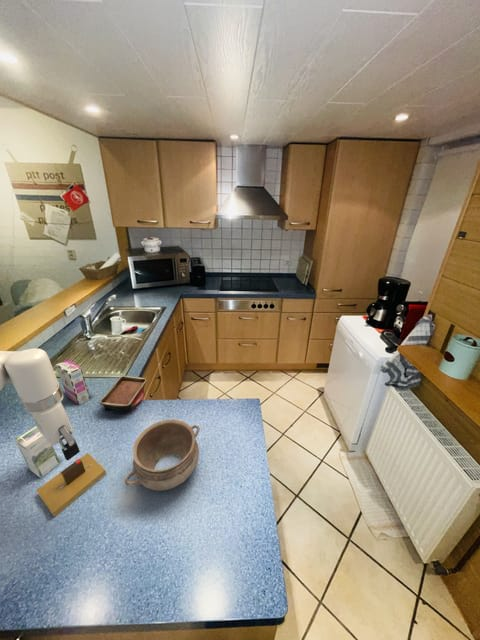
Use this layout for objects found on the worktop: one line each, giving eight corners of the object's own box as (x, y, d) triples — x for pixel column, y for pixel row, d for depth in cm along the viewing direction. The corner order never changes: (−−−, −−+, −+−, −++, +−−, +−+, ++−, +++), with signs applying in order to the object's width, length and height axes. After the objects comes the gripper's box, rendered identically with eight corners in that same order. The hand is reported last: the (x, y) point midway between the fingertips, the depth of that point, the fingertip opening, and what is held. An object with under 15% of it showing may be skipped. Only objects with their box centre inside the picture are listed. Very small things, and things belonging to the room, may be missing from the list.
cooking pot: (149, 529, 64) (142, 500, 59) (115, 480, 75) (106, 452, 70) (219, 460, 81) (218, 433, 76) (182, 429, 92) (179, 403, 87)
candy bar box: (91, 399, 105) (82, 367, 98) (79, 407, 101) (68, 374, 95) (78, 389, 111) (68, 358, 104) (66, 396, 107) (54, 364, 100)
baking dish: (153, 396, 111) (150, 375, 108) (129, 422, 94) (124, 399, 91) (123, 394, 113) (120, 374, 110) (95, 419, 96) (90, 396, 94)
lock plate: (55, 519, 65) (52, 512, 64) (39, 496, 70) (35, 489, 69) (107, 476, 76) (105, 469, 75) (89, 459, 81) (87, 452, 80)
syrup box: (50, 456, 81) (35, 424, 75) (61, 464, 79) (47, 431, 73) (30, 472, 77) (13, 438, 71) (41, 480, 74) (25, 447, 68)
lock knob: (67, 485, 70) (62, 474, 68) (65, 482, 71) (60, 471, 69) (85, 471, 74) (81, 460, 72) (83, 468, 75) (79, 457, 73)
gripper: (10, 392, 62) (34, 441, 69) (40, 423, 53) (64, 475, 60) (45, 376, 67) (64, 423, 75) (77, 402, 59) (95, 452, 66)
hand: (64, 446), depth 68 cm, fingers open, 9 cm apart
